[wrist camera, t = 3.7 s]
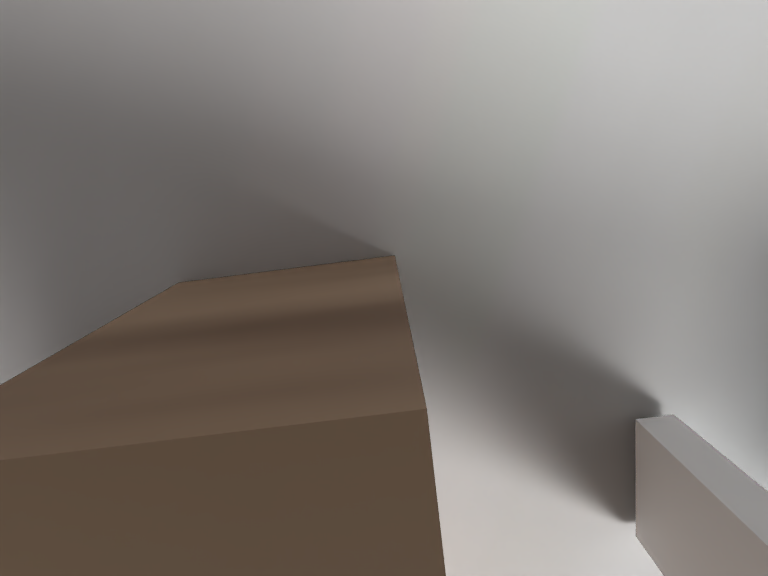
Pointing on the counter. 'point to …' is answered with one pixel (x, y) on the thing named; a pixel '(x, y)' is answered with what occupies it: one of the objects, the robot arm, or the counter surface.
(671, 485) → the robot arm
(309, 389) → the brown wooden block
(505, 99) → the counter surface
